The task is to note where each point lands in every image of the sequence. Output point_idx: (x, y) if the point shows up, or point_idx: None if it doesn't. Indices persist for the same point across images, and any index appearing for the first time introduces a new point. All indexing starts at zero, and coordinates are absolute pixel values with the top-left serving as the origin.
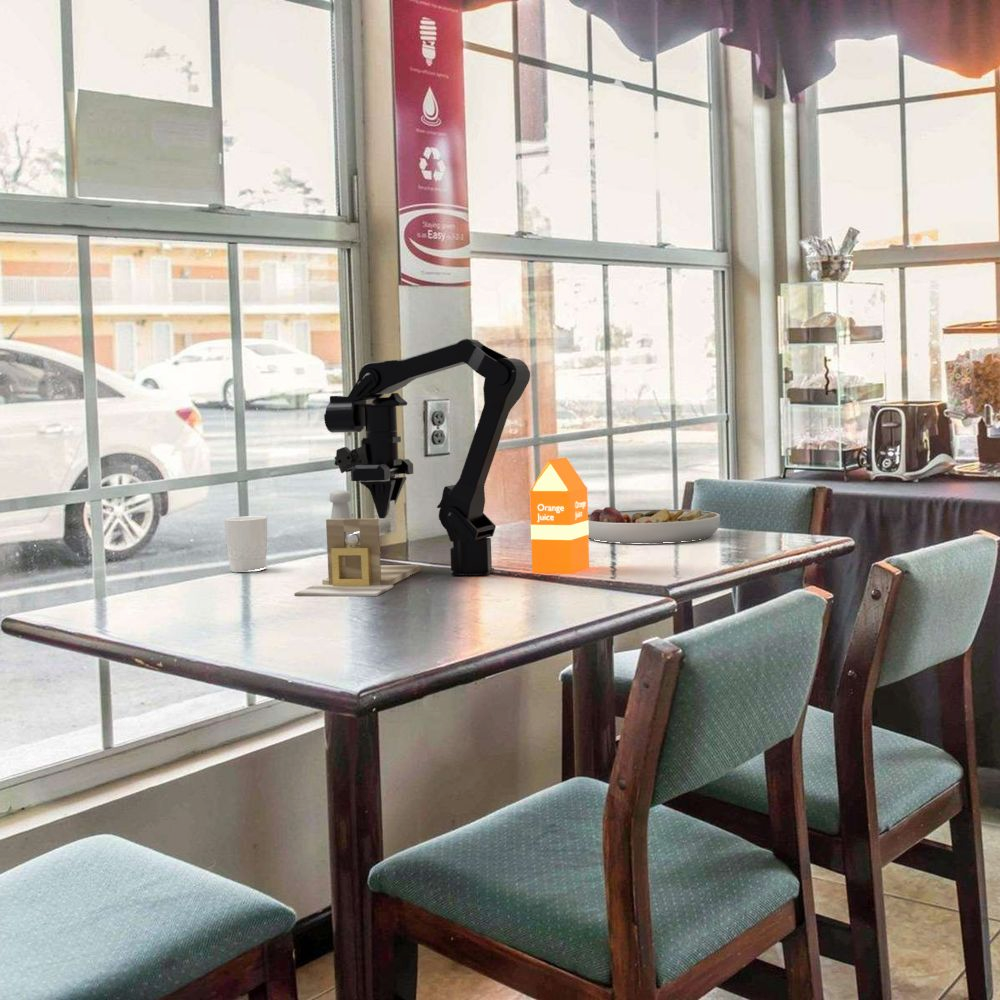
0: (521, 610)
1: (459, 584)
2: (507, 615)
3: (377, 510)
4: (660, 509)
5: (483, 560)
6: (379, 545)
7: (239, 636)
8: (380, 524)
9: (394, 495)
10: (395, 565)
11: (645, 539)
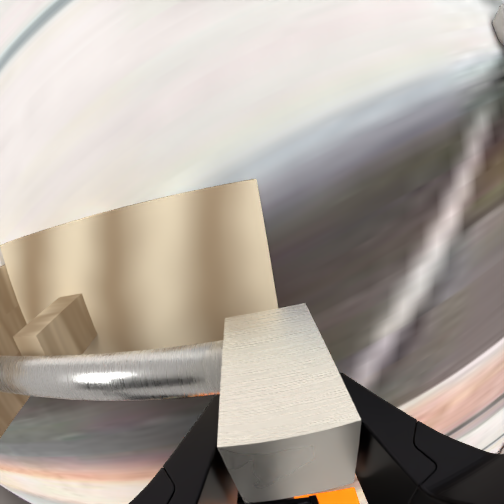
0: (49, 495)
1: (135, 462)
2: (29, 486)
3: (196, 425)
4: None
5: None
6: (13, 416)
7: None
8: (185, 390)
9: (371, 500)
10: (276, 307)
11: (501, 453)
